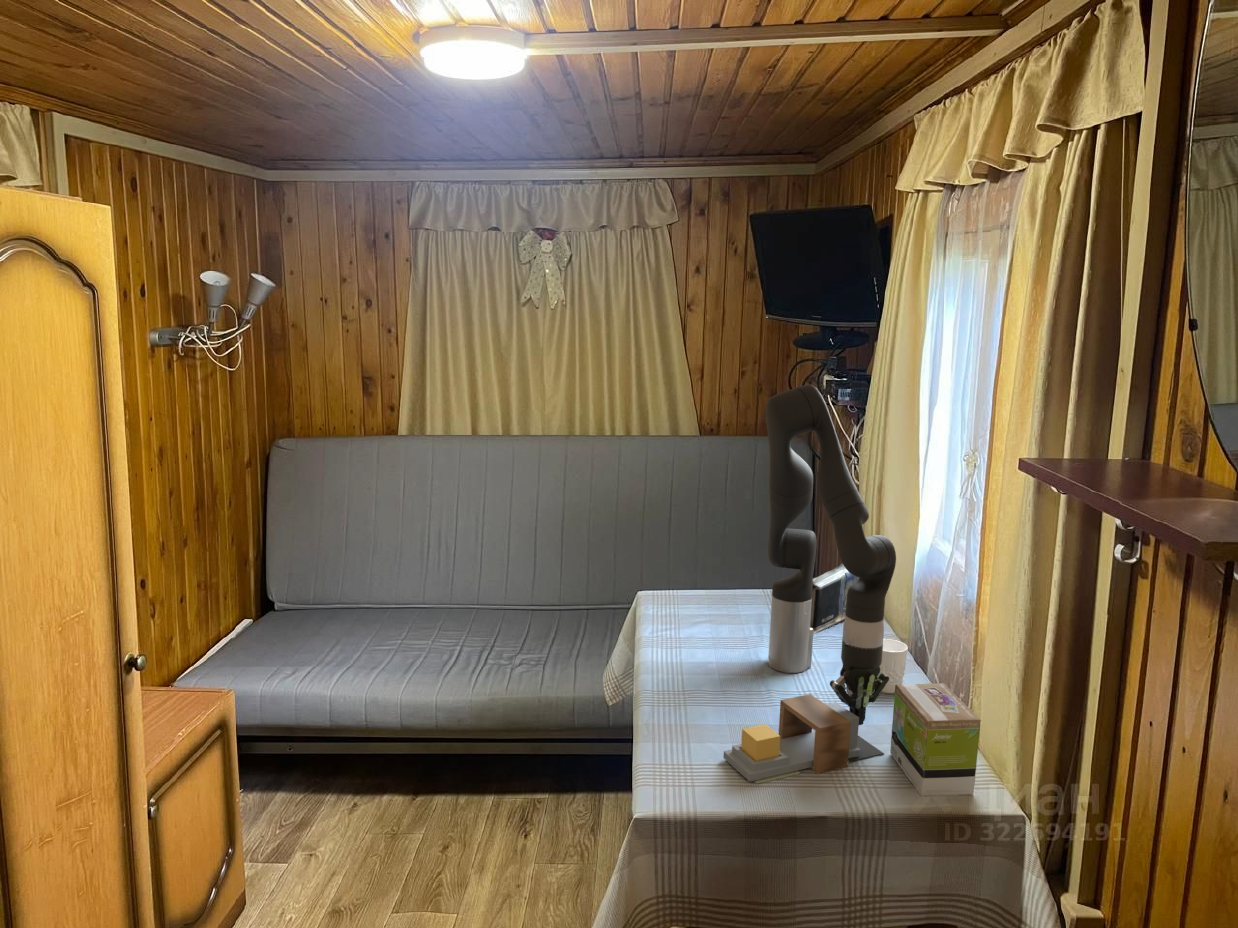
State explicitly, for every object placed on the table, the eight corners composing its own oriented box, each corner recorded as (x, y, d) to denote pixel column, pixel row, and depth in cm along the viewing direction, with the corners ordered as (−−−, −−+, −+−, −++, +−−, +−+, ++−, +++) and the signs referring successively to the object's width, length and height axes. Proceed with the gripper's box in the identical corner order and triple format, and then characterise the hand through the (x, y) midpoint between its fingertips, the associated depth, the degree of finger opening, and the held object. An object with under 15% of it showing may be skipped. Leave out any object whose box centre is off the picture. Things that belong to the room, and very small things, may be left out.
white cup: (906, 683, 201) (909, 642, 199) (901, 697, 194) (905, 654, 192) (870, 677, 204) (874, 636, 203) (864, 690, 197) (868, 647, 196)
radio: (812, 635, 230) (815, 580, 227) (786, 625, 237) (789, 571, 234) (867, 617, 244) (871, 565, 241) (841, 608, 251) (845, 557, 248)
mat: (768, 748, 170) (768, 747, 170) (799, 773, 161) (799, 772, 161) (728, 757, 167) (728, 756, 167) (757, 783, 158) (757, 782, 158)
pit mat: (850, 730, 178) (850, 729, 178) (883, 754, 169) (883, 753, 169) (817, 737, 175) (817, 736, 175) (850, 761, 166) (850, 760, 166)
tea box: (887, 754, 169) (893, 681, 167) (938, 753, 170) (945, 681, 168) (920, 797, 155) (927, 718, 152) (975, 796, 156) (983, 717, 153)
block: (763, 748, 167) (765, 723, 166) (778, 761, 162) (780, 735, 161) (740, 753, 165) (742, 728, 164) (755, 766, 160) (756, 740, 159)
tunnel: (807, 736, 176) (810, 694, 174) (847, 766, 164) (851, 721, 163) (778, 742, 173) (780, 699, 171) (816, 773, 162) (819, 728, 160)
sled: (830, 734, 176) (832, 699, 174) (859, 755, 168) (862, 719, 166) (723, 757, 166) (725, 721, 164) (749, 781, 158) (751, 743, 156)
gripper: (877, 627, 175) (870, 709, 178) (822, 636, 169) (816, 720, 172) (903, 641, 168) (896, 726, 171) (847, 650, 163) (841, 738, 166)
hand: (856, 723), depth 172 cm, fingers closed
